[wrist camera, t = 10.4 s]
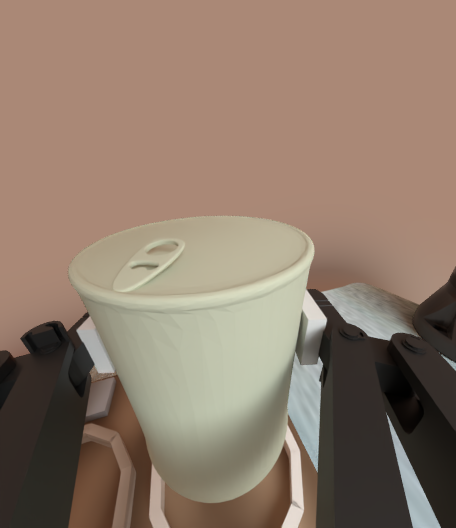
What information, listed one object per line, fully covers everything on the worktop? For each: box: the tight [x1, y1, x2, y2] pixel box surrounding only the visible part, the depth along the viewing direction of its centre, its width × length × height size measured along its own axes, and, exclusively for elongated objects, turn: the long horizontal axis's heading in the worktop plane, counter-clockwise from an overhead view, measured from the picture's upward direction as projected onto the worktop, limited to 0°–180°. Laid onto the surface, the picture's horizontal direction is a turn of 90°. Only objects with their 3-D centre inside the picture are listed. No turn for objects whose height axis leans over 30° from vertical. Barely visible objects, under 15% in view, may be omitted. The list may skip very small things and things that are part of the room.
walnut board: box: [68, 375, 318, 528], centre depth 17 cm, size 29×21×2 cm
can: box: [68, 216, 314, 503], centre depth 10 cm, size 9×9×12 cm
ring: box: [149, 424, 304, 528], centre depth 19 cm, size 13×18×2 cm
